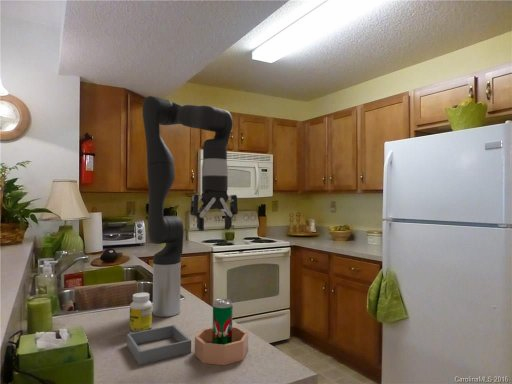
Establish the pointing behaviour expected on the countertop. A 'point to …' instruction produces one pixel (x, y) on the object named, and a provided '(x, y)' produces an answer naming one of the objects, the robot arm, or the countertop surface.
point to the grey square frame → (162, 351)
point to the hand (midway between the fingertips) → (214, 230)
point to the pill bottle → (140, 313)
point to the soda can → (222, 322)
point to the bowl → (221, 347)
